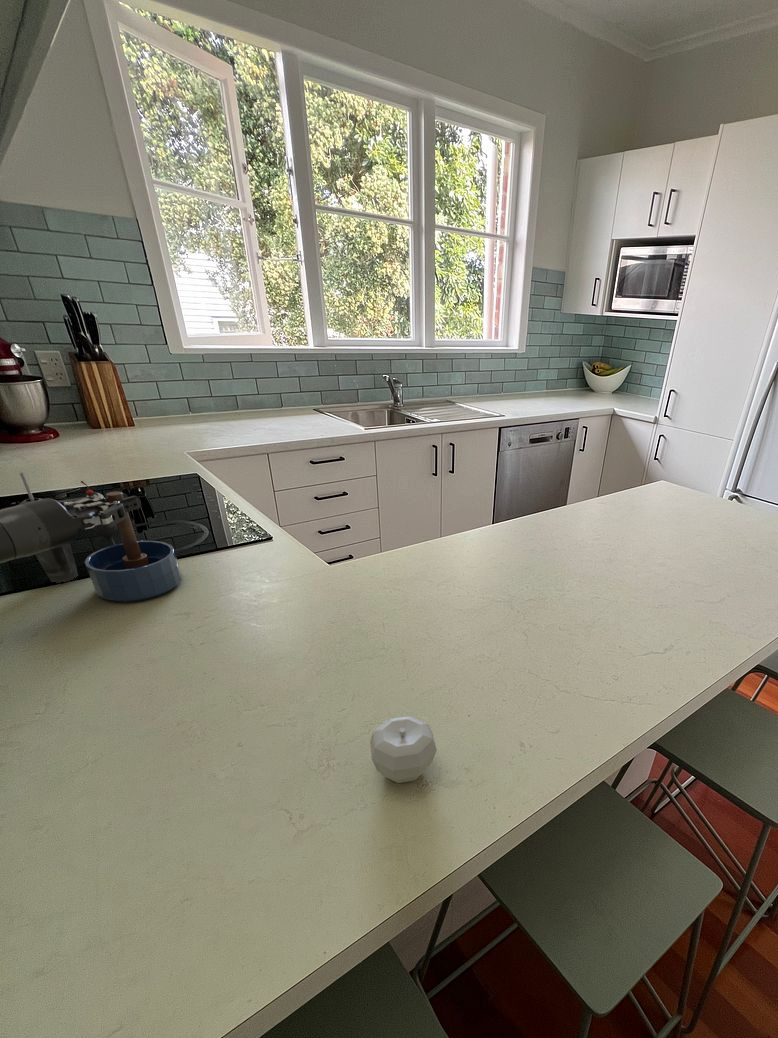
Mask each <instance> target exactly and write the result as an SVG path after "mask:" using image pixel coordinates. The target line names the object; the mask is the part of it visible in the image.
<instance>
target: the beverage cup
mask: <svg viewBox="0 0 778 1038" xmlns="http://www.w3.org/2000/svg"><path fill="white" fill-rule="evenodd" d="M19 476H20V477H21V480H22V482H23V485H24V488H25V490H26V492H27V495H28V498H26V499H24V500H22V501H21V502H20V503H19V504H18V505H22V504H26V503H30V502H34V501H38V500H42V499H43V498H40V497H34V495H33V493H32V491H31V488H30V486H29V483H28V481H27V479H26V475H25V474H24V472H23V471H22V472H19ZM35 557H36V559H37V560H38V562H39V564H40V565H41V567H42V569H43V571H44V573H45V575H47V577H48V579H49V581H50V582H51V583H53V582H56V583H55V584H62V583H61V582H64V583H68V582H71V581H70V580H72V581H74V580H75V579H74V578H76V577H77V576H78V577H79V573H78V569H77V564H76V560H75V558H74V554H73V550H72V546H71V543H70V544H66V545H63V546H60V547H57V548H54V549H51V550H48V551H44V552H41V553H38V554H35ZM78 577H77V578H78ZM77 578H76V579H77ZM73 579H74V580H73ZM67 581H68V582H67Z"/></svg>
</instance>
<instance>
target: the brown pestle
mask: <svg viewBox="0 0 778 1038" xmlns="http://www.w3.org/2000/svg"><path fill="white" fill-rule="evenodd" d="M122 493H123V492H122V491H110V492H106V494H105V497H107V499H108V502H112V501H115V500H120V499H124V498H123V495H122ZM125 514H126V517H127V518H126V519H124V520H122V521H121V522H119V523H118V524H116V526H117V532H118V534H119V538H120V540H121V541H120V542H121V544H123V547H124V550H125V553H126V556H124V557H123V558H122V559H123V562H124V565H125V568H126V569H133V568H138V567H142V566H147V565H149V561H148V558H147V555H146V554H145V553H141V551H140V548H139V545H138V542H137V541H138V539H137V536H136V532H135V530H134V526H133V523H132V521H131V516H130V514H129V512H126V513H125Z"/></svg>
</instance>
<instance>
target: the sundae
mask: <svg viewBox="0 0 778 1038" xmlns="http://www.w3.org/2000/svg"><path fill="white" fill-rule="evenodd" d="M80 483H81V484H83V485H85V486H86V488H87V490H86V491H85V495H86V496H85V497H89V496H93V497H94V498H98V497H104V495H103V494H101V493H99V492H96V491H93V490H92V489H90V487H89V486H88V485H87V484H86V483H85V482H84V480H80ZM105 498H106V497H104V499H105ZM93 530H94V531H95V533H96V534H97V535H99V536H101V537H104V538H105V539H106V542H107V545H108V546H107V547H109V546H113V545H116V544H117V543H115V540H114V538H113V537H114V535H115V534H116V533H117V532H118V529H117V526H116V525H114V526H113V527H111V528H109V529H103V526H102V524H100V525H96V526H95V527H94V528H93Z"/></svg>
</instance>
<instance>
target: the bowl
mask: <svg viewBox="0 0 778 1038" xmlns="http://www.w3.org/2000/svg"><path fill="white" fill-rule="evenodd" d="M137 542H138V545H139V548H140V551H141V553H145V554H146V555H147V558H148V561H149V565H147V566H142V567H138V568H133V569H126V568H125V565H124V562H123V559H122V558H123V557H124V556H126V553H125V550H124V547H123V544H122V543H115V544H116V545H113V546H109V547H108V546H106V547H103V548H100V549H99V550H96V551H94V552H92V553H90V554H89V555H88V556H87V557H86V558H85V560H84V566H85V568H86V570H87V574H88V576H89V578H90V582H91V584H92V587H93V589H94V591H95V593H96V596H98V597H99V598H102V599H104V600H109V601H114V602H118V603H119V602H121V603H130V602H131V603H132V602H140V601H141V602H142V601H146V600H150V599H154V598H157V597H159V596H162V595H165V594H167V593H168V592H170V591H172V590H173V589H174V588H175V587H176V586H177V585H179V583H181V581H182V576H183V575H182V572H181V568H180V564H179V561H178V558H177V555H176V551H175V548H174V547H173V546H172V544H170V543H167V542H164V541H158V540H137Z"/></svg>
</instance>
